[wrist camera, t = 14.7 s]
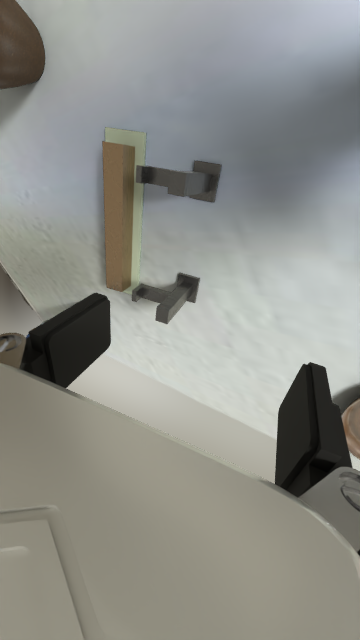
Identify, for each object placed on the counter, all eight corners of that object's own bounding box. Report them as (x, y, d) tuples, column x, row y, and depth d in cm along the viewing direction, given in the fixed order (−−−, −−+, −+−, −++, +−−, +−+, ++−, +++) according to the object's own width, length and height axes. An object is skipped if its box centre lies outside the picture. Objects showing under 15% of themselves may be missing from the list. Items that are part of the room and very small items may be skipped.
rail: (115, 143, 40) (102, 141, 37) (135, 146, 39) (123, 144, 36) (116, 281, 53) (106, 287, 50) (130, 285, 52) (121, 292, 49)
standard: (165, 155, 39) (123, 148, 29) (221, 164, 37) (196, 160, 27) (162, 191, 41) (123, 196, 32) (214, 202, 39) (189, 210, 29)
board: (107, 127, 40) (105, 127, 39) (146, 133, 38) (144, 132, 38) (110, 286, 55) (108, 287, 54) (138, 295, 53) (137, 296, 53)
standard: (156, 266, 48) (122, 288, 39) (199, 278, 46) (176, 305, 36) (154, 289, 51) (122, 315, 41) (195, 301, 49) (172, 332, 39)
